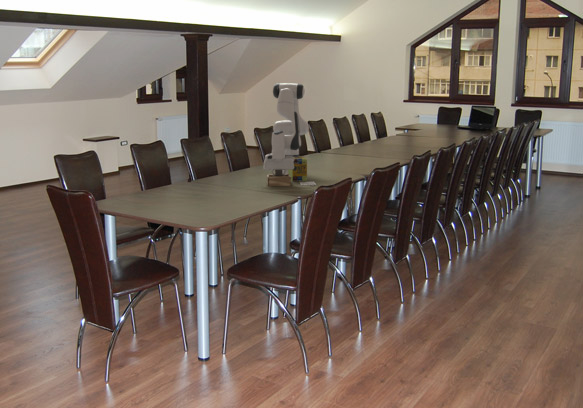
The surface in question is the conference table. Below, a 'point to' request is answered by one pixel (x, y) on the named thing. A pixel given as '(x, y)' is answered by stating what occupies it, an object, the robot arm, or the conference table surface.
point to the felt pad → (308, 183)
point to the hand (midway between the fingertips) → (278, 176)
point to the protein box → (299, 169)
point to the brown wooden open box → (279, 180)
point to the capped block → (278, 173)
